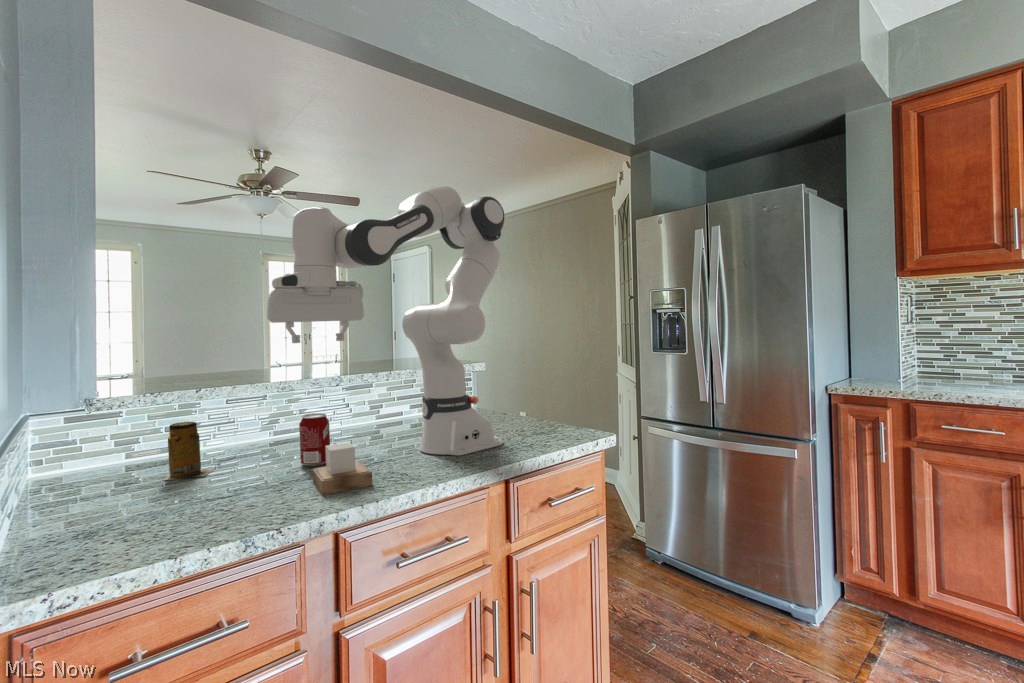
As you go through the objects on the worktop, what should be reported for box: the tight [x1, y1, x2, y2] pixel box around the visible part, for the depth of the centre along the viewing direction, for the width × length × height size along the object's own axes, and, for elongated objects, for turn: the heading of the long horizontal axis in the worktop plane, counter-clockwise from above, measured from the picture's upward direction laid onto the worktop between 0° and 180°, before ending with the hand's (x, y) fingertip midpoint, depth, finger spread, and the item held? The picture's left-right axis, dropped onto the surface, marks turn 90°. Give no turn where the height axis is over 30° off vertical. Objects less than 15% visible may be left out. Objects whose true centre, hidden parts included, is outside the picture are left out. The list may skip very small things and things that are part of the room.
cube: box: [325, 441, 356, 475], centre depth 102 cm, size 5×5×5 cm
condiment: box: [162, 421, 215, 481], centre depth 111 cm, size 7×8×12 cm
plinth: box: [312, 460, 373, 496], centre depth 102 cm, size 10×10×3 cm
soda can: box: [298, 412, 331, 468], centre depth 117 cm, size 7×7×12 cm
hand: (318, 342), depth 108 cm, fingers open, 8 cm apart
